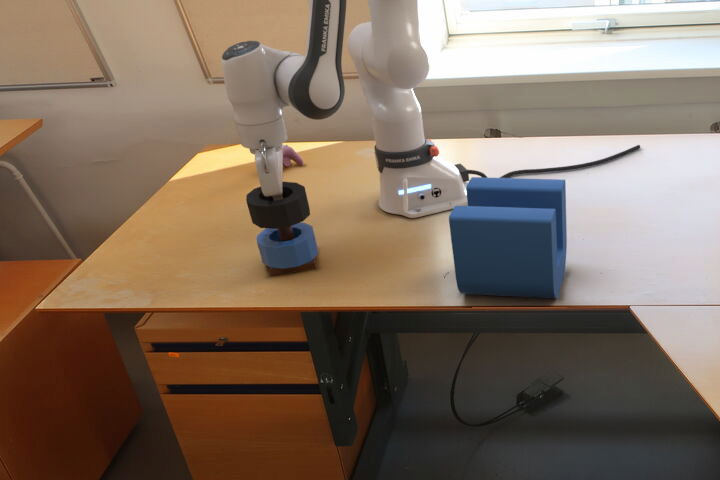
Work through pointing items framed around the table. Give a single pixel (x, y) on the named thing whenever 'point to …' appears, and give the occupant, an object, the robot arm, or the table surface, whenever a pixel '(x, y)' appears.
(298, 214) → the ring
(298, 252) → the blue tape
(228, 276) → the table surface
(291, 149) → the video game controller
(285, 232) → the wooden stand
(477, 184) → the block
